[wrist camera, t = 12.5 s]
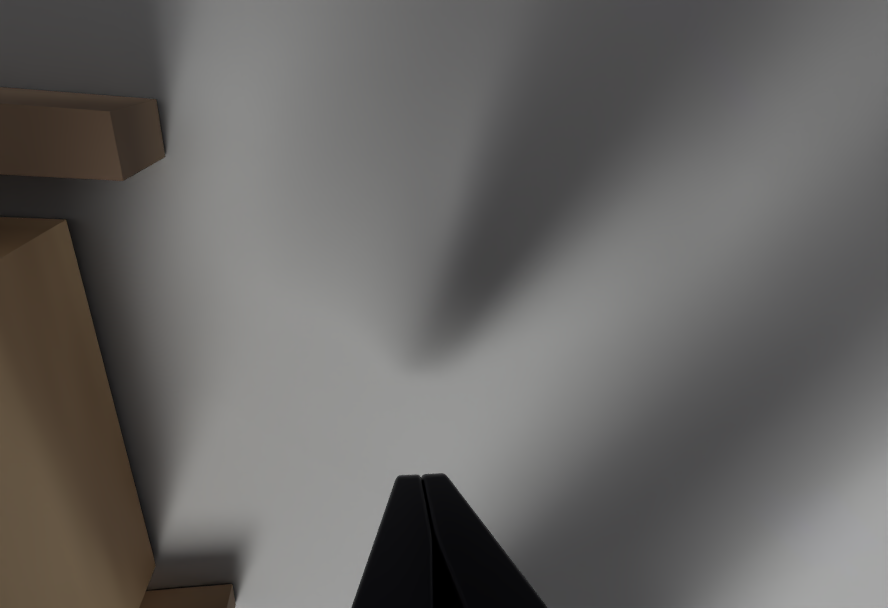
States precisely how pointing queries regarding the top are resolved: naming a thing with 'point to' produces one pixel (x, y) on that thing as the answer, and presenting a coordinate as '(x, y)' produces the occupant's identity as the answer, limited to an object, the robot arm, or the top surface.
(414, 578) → the robot arm
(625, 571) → the top surface
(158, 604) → the bar
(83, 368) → the block
